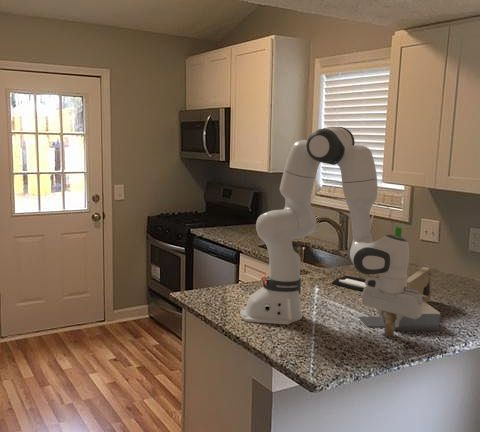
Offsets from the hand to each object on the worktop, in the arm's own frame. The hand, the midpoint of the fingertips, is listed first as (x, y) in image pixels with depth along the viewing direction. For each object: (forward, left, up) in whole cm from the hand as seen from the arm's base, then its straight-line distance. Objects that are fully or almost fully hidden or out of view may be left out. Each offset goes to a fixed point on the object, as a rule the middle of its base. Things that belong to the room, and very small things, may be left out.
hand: (389, 324), depth 173 cm
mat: (-1, +12, -4) cm, 13 cm away
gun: (+22, +30, -4) cm, 37 cm away
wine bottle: (+16, +40, -4) cm, 43 cm away
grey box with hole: (+11, +11, -4) cm, 16 cm away
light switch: (+7, +60, -4) cm, 60 cm away
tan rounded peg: (0, 0, -4) cm, 4 cm away
